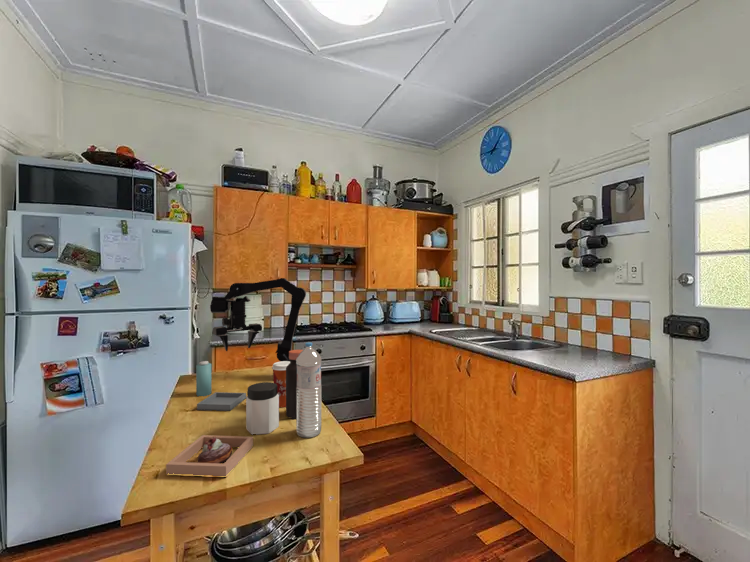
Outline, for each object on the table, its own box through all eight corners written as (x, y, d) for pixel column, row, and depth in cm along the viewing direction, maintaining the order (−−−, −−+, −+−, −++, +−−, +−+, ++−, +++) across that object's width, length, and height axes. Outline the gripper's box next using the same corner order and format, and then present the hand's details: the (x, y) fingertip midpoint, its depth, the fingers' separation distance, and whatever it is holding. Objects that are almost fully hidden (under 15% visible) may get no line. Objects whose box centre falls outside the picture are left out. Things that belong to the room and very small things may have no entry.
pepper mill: (214, 392, 125) (214, 360, 125) (206, 396, 120) (206, 363, 120) (201, 391, 125) (201, 360, 125) (193, 396, 120) (193, 363, 120)
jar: (261, 419, 100) (261, 380, 100) (284, 423, 97) (283, 383, 97) (239, 432, 92) (239, 389, 92) (264, 437, 89) (263, 393, 89)
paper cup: (275, 410, 107) (275, 367, 107) (269, 403, 114) (269, 362, 114) (298, 405, 111) (298, 364, 111) (291, 398, 118) (291, 359, 118)
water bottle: (310, 441, 87) (310, 346, 87) (291, 435, 90) (290, 343, 90) (326, 430, 93) (326, 342, 93) (307, 425, 96) (307, 339, 96)
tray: (246, 398, 118) (246, 392, 118) (230, 410, 107) (230, 404, 107) (215, 397, 119) (215, 392, 119) (197, 410, 108) (197, 404, 108)
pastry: (202, 452, 82) (202, 432, 82) (235, 449, 83) (235, 429, 83) (192, 471, 74) (192, 448, 74) (228, 467, 75) (228, 445, 75)
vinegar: (285, 411, 106) (285, 349, 106) (306, 409, 108) (306, 348, 108) (286, 420, 100) (286, 354, 100) (309, 417, 102) (309, 352, 102)
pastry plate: (253, 446, 84) (253, 436, 84) (226, 478, 71) (226, 466, 71) (202, 444, 85) (202, 435, 85) (166, 475, 72) (166, 464, 72)
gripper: (252, 309, 152) (252, 343, 152) (208, 312, 139) (208, 349, 139) (262, 311, 143) (262, 347, 143) (216, 314, 131) (216, 354, 131)
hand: (238, 349), depth 140 cm, fingers open, 9 cm apart
